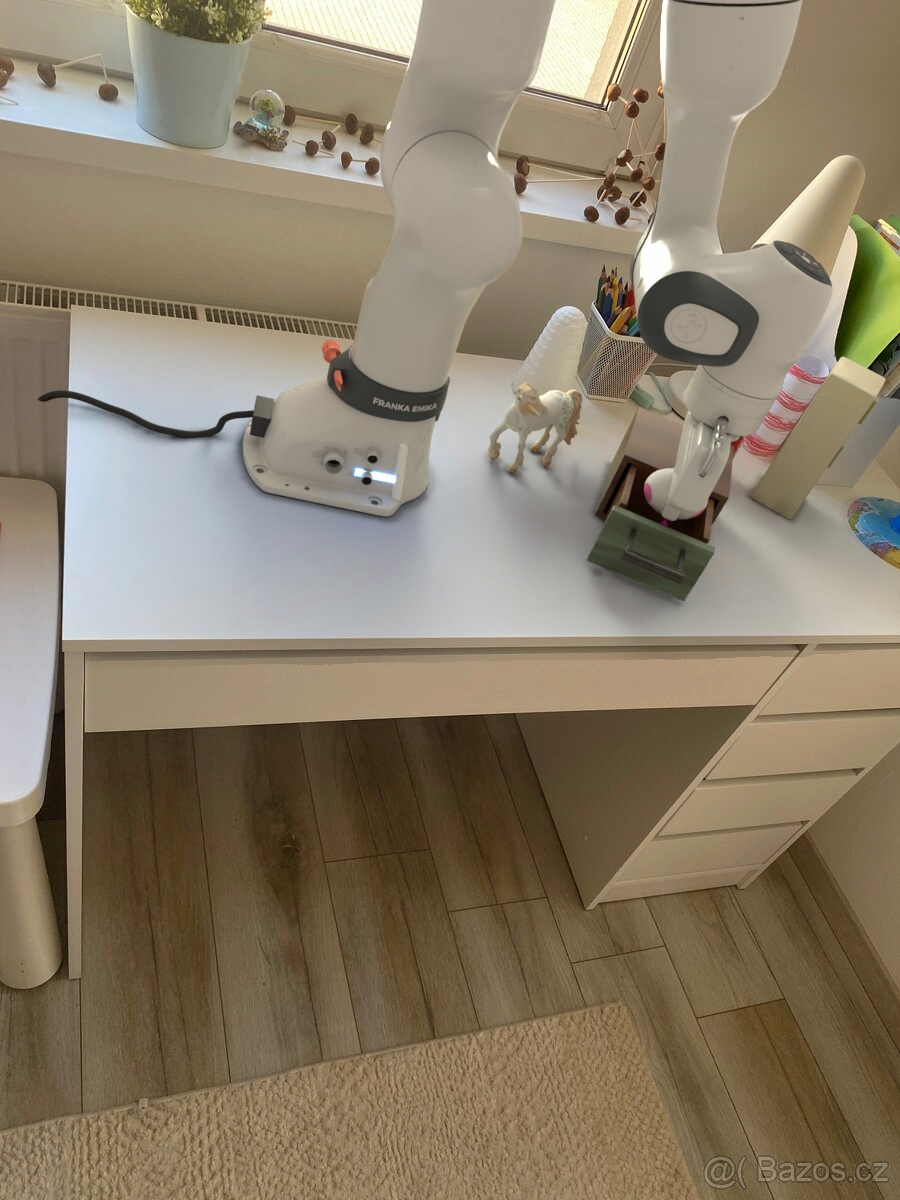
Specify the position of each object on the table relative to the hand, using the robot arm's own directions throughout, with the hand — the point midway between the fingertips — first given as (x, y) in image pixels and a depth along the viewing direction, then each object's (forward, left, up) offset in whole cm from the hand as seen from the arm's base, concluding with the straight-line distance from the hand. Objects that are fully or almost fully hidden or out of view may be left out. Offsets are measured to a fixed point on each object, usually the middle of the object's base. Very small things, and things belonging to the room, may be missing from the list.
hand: (671, 499), depth 106 cm
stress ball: (0, 0, -2) cm, 2 cm away
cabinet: (+6, +10, -9) cm, 15 cm away
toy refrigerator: (+30, +15, -9) cm, 35 cm away
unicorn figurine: (-10, +15, -9) cm, 21 cm away
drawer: (-1, -3, -8) cm, 9 cm away
